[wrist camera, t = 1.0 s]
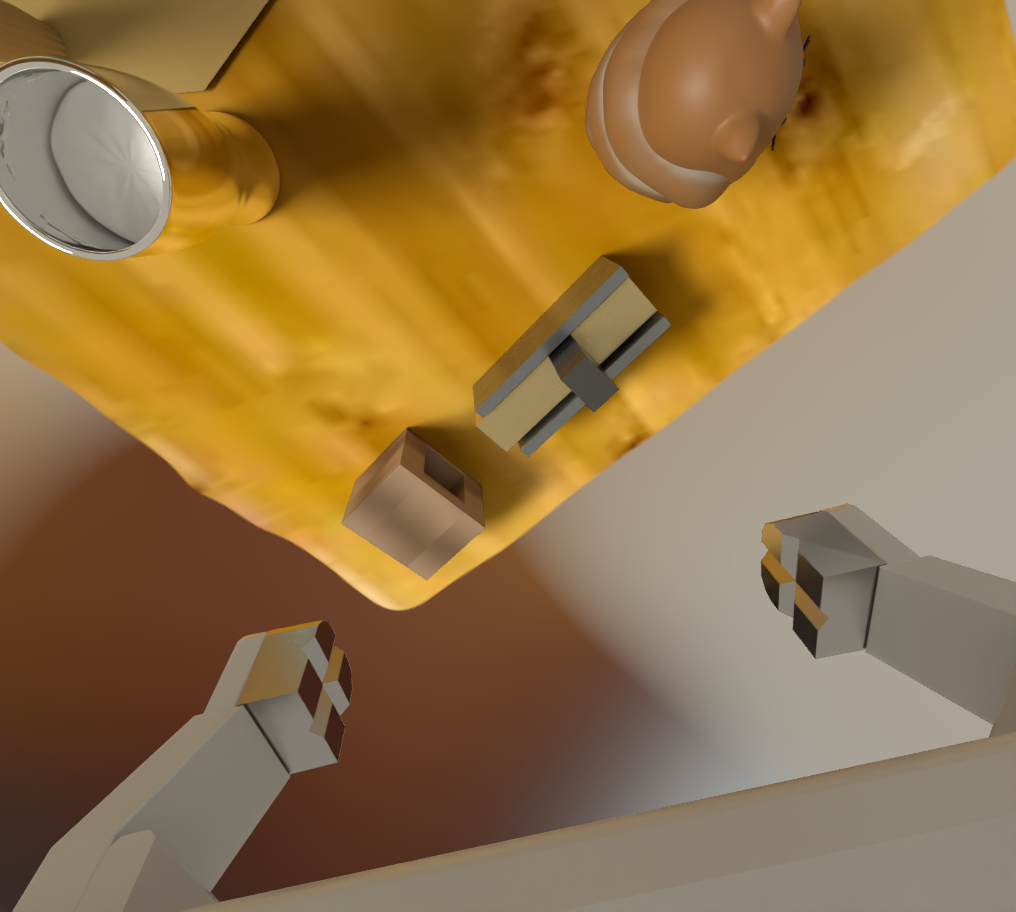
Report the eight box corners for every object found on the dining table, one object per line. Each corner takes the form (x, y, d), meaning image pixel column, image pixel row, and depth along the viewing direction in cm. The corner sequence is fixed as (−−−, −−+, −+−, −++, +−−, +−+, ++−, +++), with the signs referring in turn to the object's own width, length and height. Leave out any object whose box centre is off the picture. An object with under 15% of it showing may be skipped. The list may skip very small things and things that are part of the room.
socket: (407, 427, 41) (399, 464, 36) (481, 486, 45) (485, 528, 39) (355, 481, 43) (341, 523, 38) (430, 534, 46) (426, 580, 41)
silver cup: (216, 73, 30) (31, -7, 17) (312, 179, 33) (216, 180, 20) (142, 162, 32) (-79, 151, 19) (240, 255, 35) (107, 303, 22)
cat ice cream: (657, 205, 36) (819, 229, 20) (543, 185, 34) (618, 192, 19) (699, 43, 32) (944, -90, 16) (571, 14, 31) (698, -162, 15)
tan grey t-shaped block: (615, 269, 36) (653, 291, 29) (642, 300, 37) (685, 328, 30) (474, 410, 40) (478, 458, 33) (503, 434, 41) (512, 486, 34)
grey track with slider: (601, 255, 37) (621, 266, 32) (647, 308, 39) (671, 324, 34) (472, 385, 40) (474, 411, 36) (520, 427, 42) (528, 457, 38)
